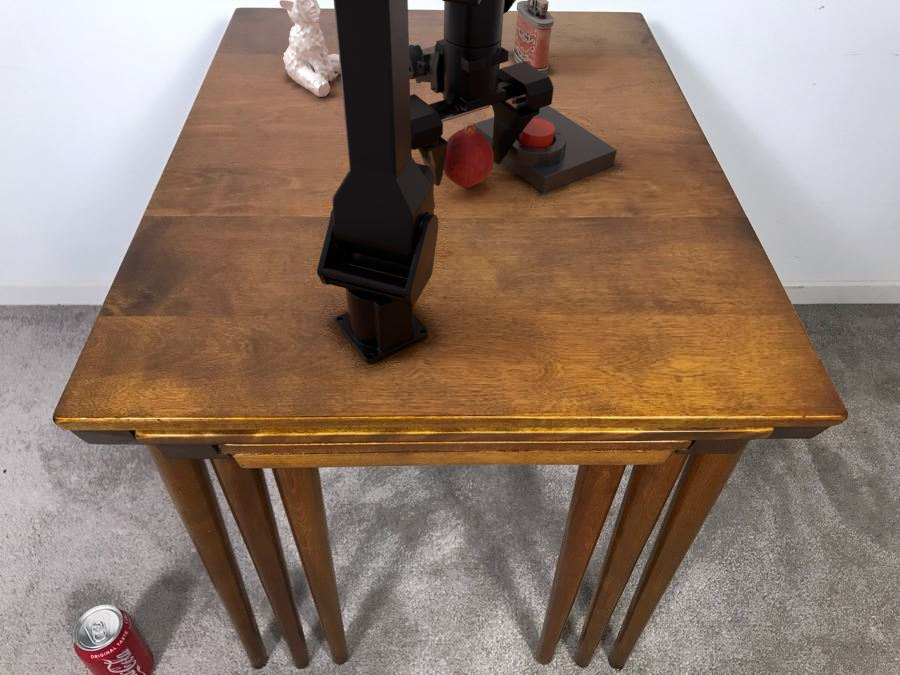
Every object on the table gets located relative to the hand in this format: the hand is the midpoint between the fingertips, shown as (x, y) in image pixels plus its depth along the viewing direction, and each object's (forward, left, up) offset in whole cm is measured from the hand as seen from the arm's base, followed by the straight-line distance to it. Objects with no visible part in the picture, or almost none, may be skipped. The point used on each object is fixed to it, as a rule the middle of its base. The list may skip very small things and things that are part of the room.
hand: (466, 173), depth 81 cm
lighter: (+21, -26, -2) cm, 33 cm away
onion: (0, 0, -2) cm, 2 cm away
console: (+1, -12, -2) cm, 12 cm away
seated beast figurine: (+33, +3, -2) cm, 33 cm away
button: (-1, -9, +2) cm, 9 cm away
